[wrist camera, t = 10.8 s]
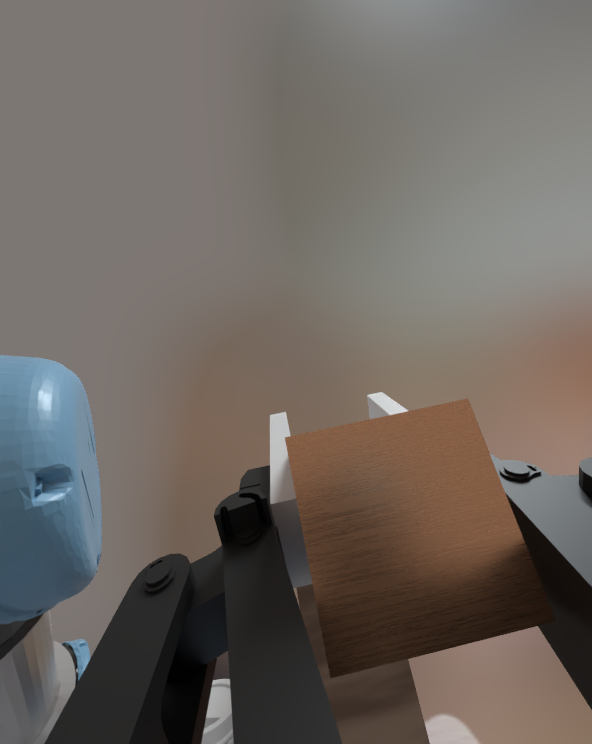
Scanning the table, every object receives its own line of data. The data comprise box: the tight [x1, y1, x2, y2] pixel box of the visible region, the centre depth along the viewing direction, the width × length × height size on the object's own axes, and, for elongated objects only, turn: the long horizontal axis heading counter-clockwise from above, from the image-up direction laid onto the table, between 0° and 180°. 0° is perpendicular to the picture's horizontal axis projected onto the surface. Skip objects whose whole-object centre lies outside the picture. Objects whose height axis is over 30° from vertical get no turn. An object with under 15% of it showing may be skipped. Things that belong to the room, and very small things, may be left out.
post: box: [297, 584, 430, 744], centre depth 31 cm, size 16×13×30 cm
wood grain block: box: [285, 399, 556, 678], centre depth 16 cm, size 23×4×4 cm, turn 179°
